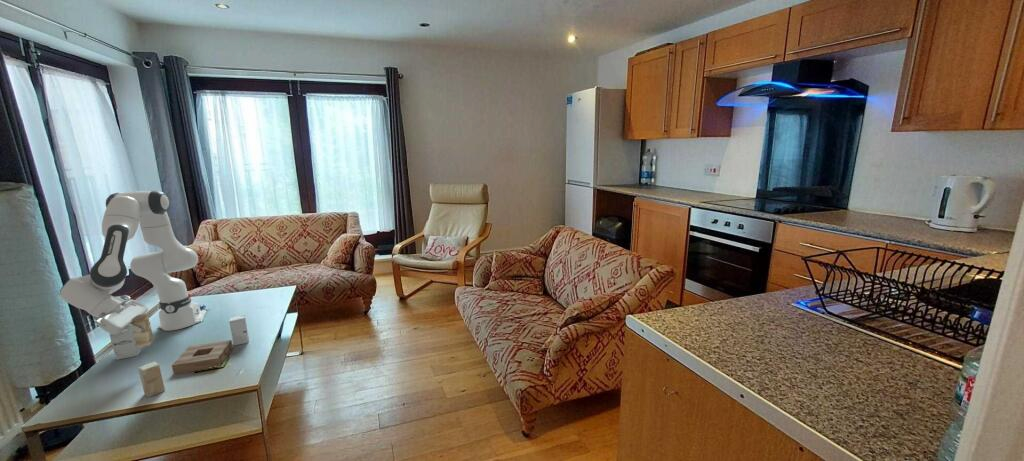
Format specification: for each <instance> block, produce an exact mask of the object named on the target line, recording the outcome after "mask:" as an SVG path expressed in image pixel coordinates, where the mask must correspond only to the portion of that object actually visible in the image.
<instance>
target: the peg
mask: <svg viewBox="0 0 1024 461" xmlns="http://www.w3.org/2000/svg"><path fill="white" fill-rule="evenodd" d="M149 314H150V313H145V314H141V315H137V316H135V317H134V318H133V319H131V320H133V321H132V322H131V324H133V326H137V327H139V326H140V327H142V328H143V330H142V331H141V332H140V333H137V332H135V331H133V333H134V337H135V341H136V345H137V347H141V346H142V347H147V346H150V345H151V344H152V343H154V342H155V337H154V333H153V330H152V326H151V323H150V322H151V321H150V319H149V318H150V317H149Z"/></svg>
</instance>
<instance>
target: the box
mask: <svg viewBox="0 0 1024 461" xmlns="http://www.w3.org/2000/svg"><path fill="white" fill-rule="evenodd" d="M137 370H138V372H139V376H140V381H141V386H142V389H143V393H144V395H145V396H146V397H148V398H151V397H153V396H155V395H158V394H160V393H162V392H165V391H166V388H165V384H164V380H163V375H162V370H161V366H160V364H159V363H158V362H157V361H153V362H149V363H147V364H144V365H142V366H139V367H138V368H137Z"/></svg>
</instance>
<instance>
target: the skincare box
mask: <svg viewBox="0 0 1024 461" xmlns="http://www.w3.org/2000/svg"><path fill="white" fill-rule="evenodd" d="M246 320H247V319H246V315H245V314H244V315H238V316H233V317H230V318H229V321H228V323H229V327H230V332H231V340H232V345H233V346H238V345H243V344H247V343H249V340H250V338H249V331H248V325H247V321H246Z"/></svg>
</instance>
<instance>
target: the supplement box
mask: <svg viewBox="0 0 1024 461" xmlns="http://www.w3.org/2000/svg"><path fill="white" fill-rule="evenodd" d="M108 334H109V338H110V342H111V345H112V350H113V354H114V356H115V357H114V358H115V360H116V361H119V360H123V359H127V358H133V357H137V356H139V354H140V353H141V351H142V350H143V346H141V347H137V345H136V341H135V337H134V333H133V331H130V330H127V329H124V330H123V331H121V332H120V333H118V334H117V335H112V334H110V333H108Z"/></svg>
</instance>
